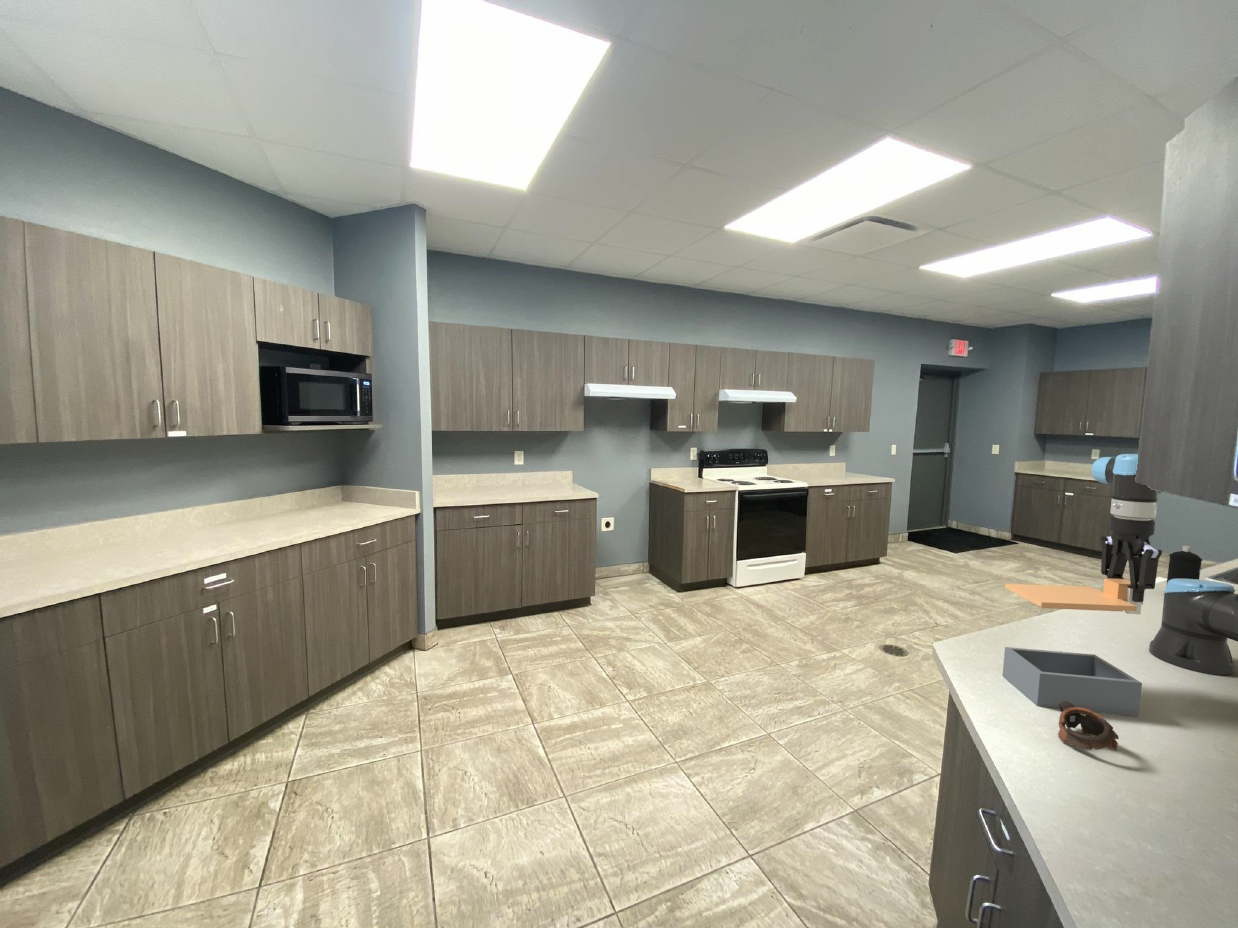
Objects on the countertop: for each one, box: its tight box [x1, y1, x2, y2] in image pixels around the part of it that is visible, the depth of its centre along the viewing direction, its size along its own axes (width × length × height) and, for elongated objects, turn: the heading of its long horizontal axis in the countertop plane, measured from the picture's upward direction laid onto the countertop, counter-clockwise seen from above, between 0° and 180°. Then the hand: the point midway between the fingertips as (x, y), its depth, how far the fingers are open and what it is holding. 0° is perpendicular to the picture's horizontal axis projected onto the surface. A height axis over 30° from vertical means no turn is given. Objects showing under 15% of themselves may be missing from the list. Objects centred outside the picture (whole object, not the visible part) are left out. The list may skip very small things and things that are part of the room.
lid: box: [1005, 577, 1144, 612], centre depth 117 cm, size 25×13×6 cm, turn 81°
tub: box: [1002, 646, 1143, 717], centre depth 113 cm, size 20×13×8 cm, turn 79°
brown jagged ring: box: [1057, 701, 1120, 751], centre depth 97 cm, size 12×10×8 cm
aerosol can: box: [1163, 545, 1203, 594], centre depth 178 cm, size 8×8×20 cm
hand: (1123, 609), depth 116 cm, fingers closed on lid, 4 cm apart
